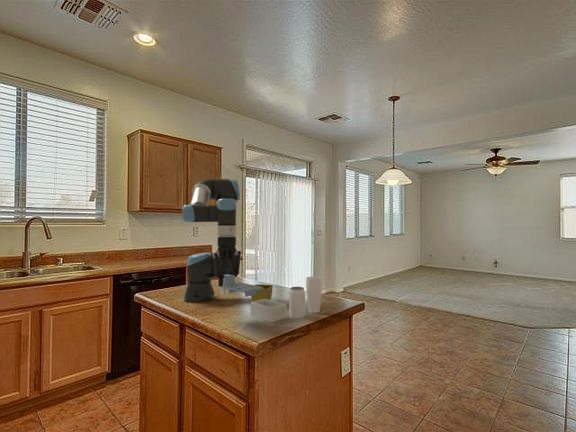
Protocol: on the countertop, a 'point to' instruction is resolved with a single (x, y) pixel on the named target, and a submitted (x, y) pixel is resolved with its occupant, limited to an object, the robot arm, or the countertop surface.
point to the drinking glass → (314, 293)
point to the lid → (240, 286)
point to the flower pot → (263, 293)
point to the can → (297, 302)
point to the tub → (268, 310)
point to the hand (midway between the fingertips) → (226, 293)
